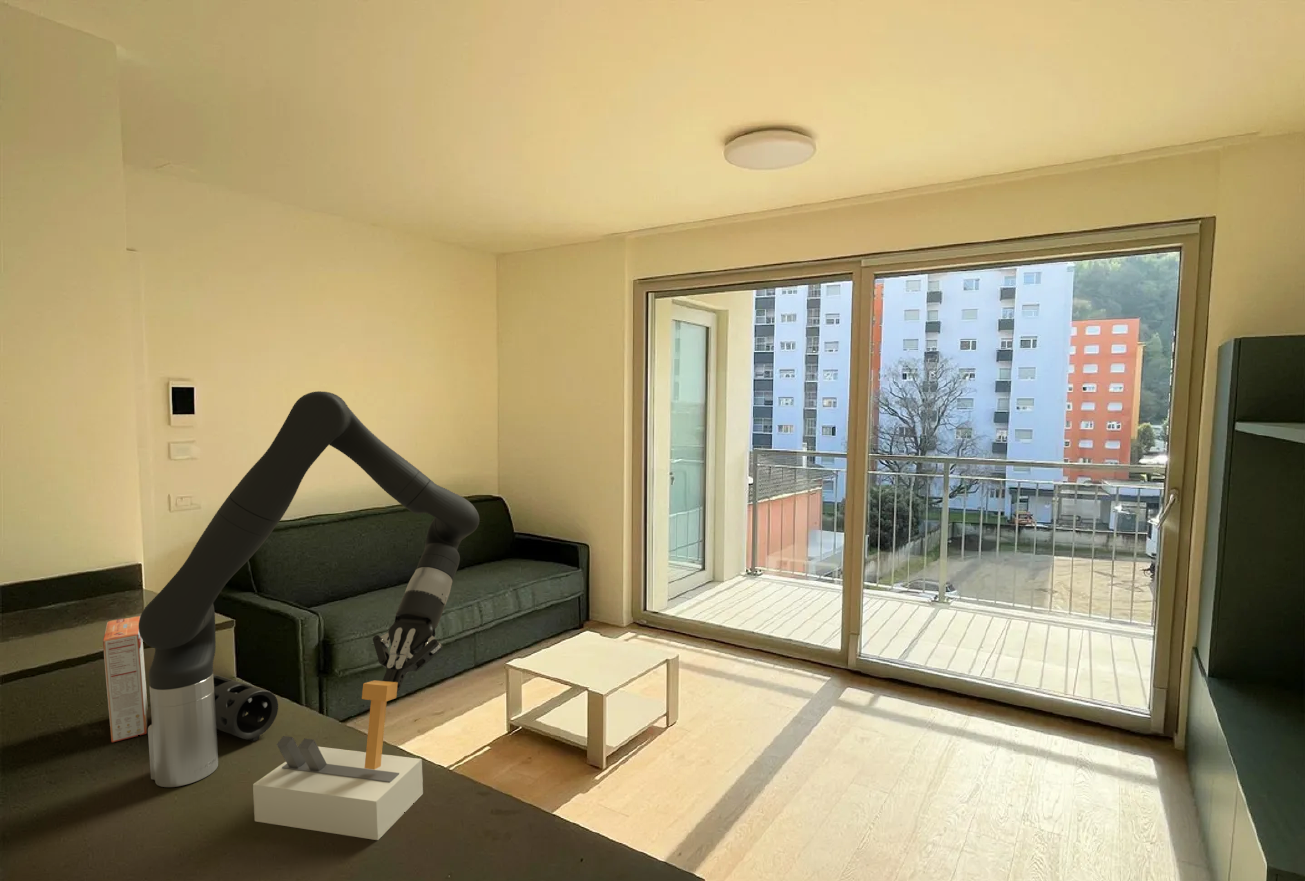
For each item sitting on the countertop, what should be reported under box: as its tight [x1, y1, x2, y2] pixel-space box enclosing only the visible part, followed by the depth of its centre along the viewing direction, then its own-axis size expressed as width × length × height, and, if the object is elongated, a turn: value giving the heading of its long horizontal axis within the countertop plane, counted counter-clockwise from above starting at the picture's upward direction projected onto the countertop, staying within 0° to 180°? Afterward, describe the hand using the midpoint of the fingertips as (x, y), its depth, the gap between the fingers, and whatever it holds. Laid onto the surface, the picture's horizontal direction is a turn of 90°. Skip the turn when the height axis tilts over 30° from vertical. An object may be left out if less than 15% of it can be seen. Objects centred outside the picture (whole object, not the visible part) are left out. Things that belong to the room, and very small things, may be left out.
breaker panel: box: [252, 735, 424, 841], centre depth 107 cm, size 22×12×12 cm, turn 77°
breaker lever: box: [361, 679, 398, 770], centre depth 107 cm, size 4×3×13 cm, turn 77°
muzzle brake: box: [213, 673, 279, 742], centre depth 135 cm, size 10×28×10 cm, turn 62°
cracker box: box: [102, 615, 148, 743], centre depth 136 cm, size 14×6×21 cm, turn 36°
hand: (387, 693), depth 110 cm, fingers closed
